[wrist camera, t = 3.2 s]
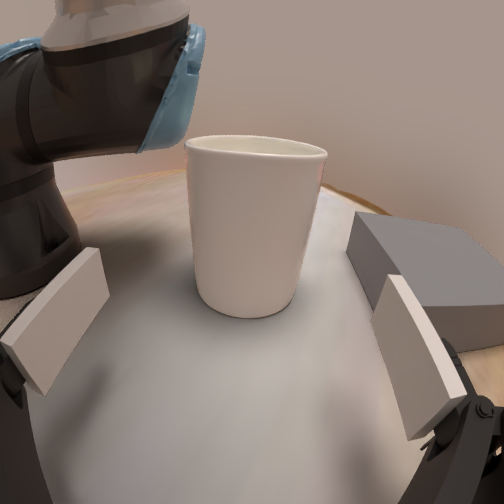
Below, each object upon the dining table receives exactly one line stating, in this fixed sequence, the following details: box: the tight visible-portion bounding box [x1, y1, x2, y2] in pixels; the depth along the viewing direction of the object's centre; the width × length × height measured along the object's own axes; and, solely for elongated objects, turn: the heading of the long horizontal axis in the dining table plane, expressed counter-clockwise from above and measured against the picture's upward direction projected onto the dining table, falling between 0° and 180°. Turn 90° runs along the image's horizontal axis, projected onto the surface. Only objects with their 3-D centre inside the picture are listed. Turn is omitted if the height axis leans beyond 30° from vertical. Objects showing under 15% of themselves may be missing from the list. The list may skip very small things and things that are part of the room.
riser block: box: [346, 211, 504, 353], centre depth 23 cm, size 16×16×5 cm
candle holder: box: [184, 135, 328, 318], centre depth 21 cm, size 10×10×12 cm
